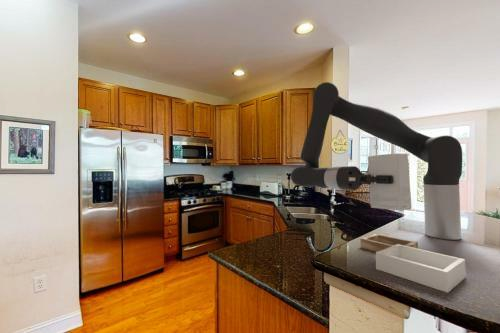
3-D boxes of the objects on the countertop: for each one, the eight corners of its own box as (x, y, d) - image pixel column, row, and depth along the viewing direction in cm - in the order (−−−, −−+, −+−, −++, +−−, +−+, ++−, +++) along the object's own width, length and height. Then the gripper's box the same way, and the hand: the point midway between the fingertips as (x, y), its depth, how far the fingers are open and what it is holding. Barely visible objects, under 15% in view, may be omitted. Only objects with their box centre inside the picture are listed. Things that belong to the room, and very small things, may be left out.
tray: (398, 258, 57) (397, 244, 57) (465, 277, 47) (465, 259, 47) (376, 268, 51) (375, 252, 51) (447, 292, 41) (447, 272, 41)
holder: (376, 241, 71) (376, 233, 71) (418, 251, 62) (417, 242, 62) (360, 247, 66) (360, 238, 66) (403, 258, 57) (402, 248, 57)
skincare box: (411, 209, 61) (410, 153, 61) (400, 211, 57) (399, 152, 58) (379, 205, 68) (378, 155, 68) (368, 207, 64) (367, 154, 65)
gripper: (327, 166, 71) (384, 164, 57) (355, 166, 79) (410, 165, 65) (328, 190, 71) (385, 195, 57) (355, 188, 78) (411, 192, 64)
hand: (398, 179), depth 61 cm, fingers closed on skincare box, 6 cm apart
